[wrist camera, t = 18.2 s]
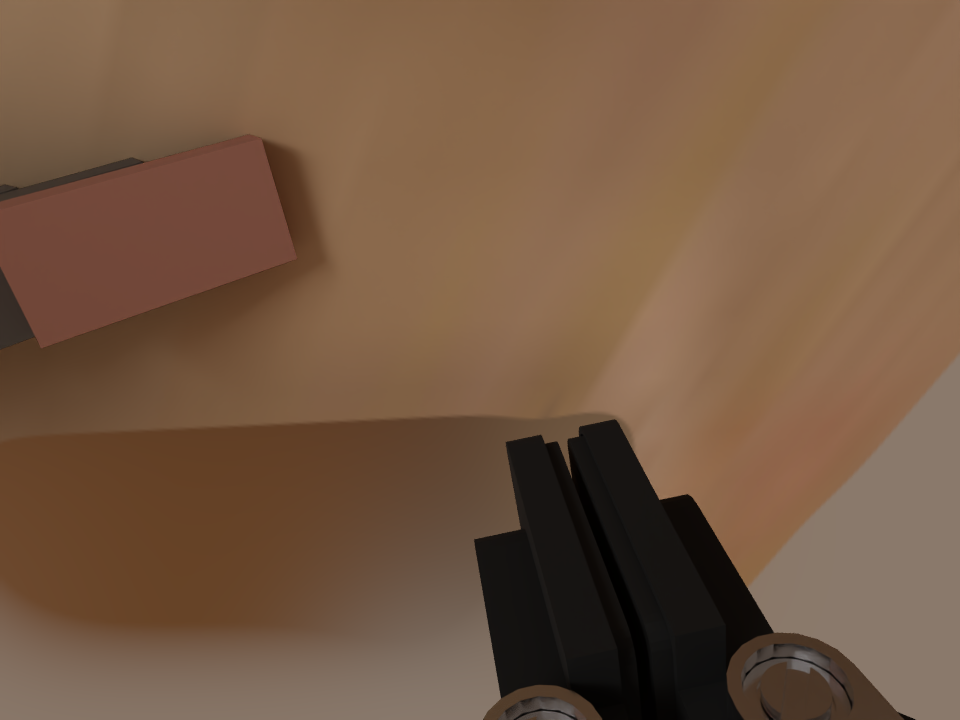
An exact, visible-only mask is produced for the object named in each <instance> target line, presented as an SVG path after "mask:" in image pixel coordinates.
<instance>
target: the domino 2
mask: <svg viewBox="0 0 960 720" xmlns="http://www.w3.org/2000/svg"><path fill="white" fill-rule="evenodd" d="M295 259H297V256H296V253H295V250H294V246H293V243H292V239H291V236H290V233H289V229H288V226H287V223H286V219H285V216H284V213H283V209H282V206H281V203H280V199H279V196H278V193H277V189H276V186H275V183H274V179H273V176H272V173H271V169H270V166H269V163H268V159H267V156H266V153H265V149H264V146H263V142H262V139H261V138H258V137H255V136H252V135H245V136H242V137H238V138H234V139H231V140H227V141H223V142H219V143H216V144H212V145H208V146H205V147H201V148H197V149H193V150H190V151H186V152H182V153H179V154H175V155H171V156H167V157H164V158H160V159H156V160H153V161H149V162H145V163H142V164H138V165H134V166H130V167H127V168H123V169H119V170H116V171H112V172H108V173H104V174H101V175H97V176H93V177H90V178H86V179H82V180H78V181H75V182H71V183H67V184H64V185H60V186H56V187H52V188H49V189H45V190H41V191H38V192H34V193H30V194H27V195H23V196H19V197H15V198H12V199H8V200H4V201H1V202H0V267H1V269H2V271H3V273H4V275H5V277H6V279H7V281H8V283H9V285H10V287H11V289H12V291H13V293H14V295H15V297H16V299H17V301H18V303H19V305H20V307H21V309H22V311H23V313H24V315H25V317H26V319H27V321H28V323H29V325H30V327H31V329H32V331H33V333H34V335H35V337H36V339H37V341H38V343H39V345H40V347H41V348H44V347H46V346H49V345H52V344H55V343H58V342H61V341H64V340H67V339H69V338H72V337H75V336H78V335H81V334H84V333H87V332H89V331H92V330H95V329H98V328H101V327H104V326H107V325H109V324H112V323H115V322H118V321H121V320H124V319H127V318H129V317H132V316H135V315H138V314H141V313H144V312H147V311H149V310H152V309H155V308H158V307H161V306H164V305H167V304H170V303H172V302H175V301H178V300H181V299H184V298H187V297H190V296H192V295H195V294H198V293H201V292H204V291H207V290H210V289H212V288H215V287H218V286H221V285H224V284H227V283H230V282H232V281H235V280H238V279H241V278H244V277H247V276H250V275H252V274H255V273H258V272H261V271H264V270H267V269H270V268H272V267H275V266H278V265H281V264H284V263H287V262H290V261H293V260H295Z"/></svg>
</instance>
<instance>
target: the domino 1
mask: <svg viewBox="0 0 960 720" xmlns="http://www.w3.org/2000/svg"><path fill="white" fill-rule="evenodd" d="M142 163H143V162H142V161H139V160H137V159H134V158H129V159H125V160H122V161H118V162H114V163H111V164H107V165H104V166H100V167H96V168H93V169H89V170H86V171H82V172H78V173H75V174H71V175H68V176H64V177H60V178H57V179H53V180H50V181H46V182H42V183H39V184H35V185H32V186H28V187H25V188H21V189H17V190H14V191H10V192H7V193H3V194H0V202H1V201H4V200H8V199H12V198H15V197H19V196H23V195H27V194H30V193H34V192H38V191H41V190H45V189H49V188H52V187H56V186H60V185H64V184H67V183H71V182H75V181H78V180H82V179H86V178H90V177H93V176H97V175H101V174H104V173H108V172H112V171H116V170H119V169H123V168H127V167H130V166H134V165H138V164H142ZM33 337H35V335H34V333H33V331H32V329H31V327H30V325H29V323H28V321H27V319H26V317H25V315H24V313H23V311H22V309H21V307H20V305H19V303H18V301H17V299H16V297H15V295H14V293H13V291H12V289H11V287H10V285H9V283H8V281H7V279H6V277H5V275H4V273H3V271H2V269H1V267H0V349H2V348H5V347H8V346H11V345H13V344H16V343H19V342H22V341H24V340H27V339H30V338H33Z"/></svg>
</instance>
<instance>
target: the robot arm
mask: <svg viewBox="0 0 960 720" xmlns="http://www.w3.org/2000/svg"><path fill="white" fill-rule="evenodd" d="M506 447H507V454H508V460H509V465H510V471H511V476H512V482H513V488H514V493H515V499H516V504H517V510H518V515H519V520H520V526H521V530H517V531H512V532H507V533H503V534H498V535H493V536H489V537H484V538H479V539H475V540H474V542H475V549H476V555H477V561H478V566H479V572H480V578H481V584H482V590H483V596H484V601H485V607H486V613H487V619H488V625H489V631H490V636H491V642H492V648H493V654H494V660H495V666H496V671H497V677H498V683H499V689H500V695H501V699H500V700H499V701H498V702H497V703H496V704H495V705H494V706H493V707H492V708H491V709H490V710H489V711H488V712H487V714H486V715H485V717H484V719H483V720H915V719H913V718H910V717H908V716H906V715H903V714H901V713H899V712H897V711H896V710H895V709H894V708H893V707H892V706H891V705H890V704H889V702H888V701H887V700H886V699H885V698H884V697H883V696H882V695H881V694H880V692H879V691H878V690H877V689H876V688H875V687H874V686H873V685H872V683H871V682H870V681H869V680H868V679H867V678H866V677H865V676H864V675H863V673H862V672H861V671H860V670H859V669H858V668H857V667H856V666H855V665H854V664H853V663H852V662H851V661H850V660H849V659H848V658H847V657H845V656H844V655H843V654H842V653H841V652H839V651H838V650H837V649H835V648H833V647H831V646H829V645H828V644H825V643H824V642H822V641H820V640H818V639H815V638H811V637H807V636H804V635H800V634H794V633H774V632H773V630H772V629H771V627H770V625H769V624H768V622H767V620H766V619H765V617H764V615H763V614H762V612H761V610H760V609H759V607H758V605H757V604H756V602H755V600H754V599H753V597H752V595H751V594H750V592H749V590H748V588H747V587H746V585H745V583H744V582H743V580H742V578H741V577H740V575H739V573H738V572H737V570H736V568H735V567H734V565H733V563H732V562H731V560H730V558H729V557H728V555H727V553H726V552H725V550H724V548H723V547H722V545H721V543H720V542H719V540H718V538H717V537H716V535H715V533H714V532H713V530H712V528H711V527H710V525H709V523H708V522H707V520H706V518H705V517H704V515H703V513H702V512H701V510H700V508H699V507H698V505H697V503H696V502H695V501H694V499H693V498H692V497H691V496H690V495H688V494H686V495H681V496H677V497H672V498H667V499H662V500H659V498H658V497H657V495H656V493H655V491H654V489H653V487H652V485H651V483H650V481H649V480H648V478H647V476H646V474H645V472H644V470H643V468H642V466H641V465H640V463H639V461H638V459H637V457H636V455H635V453H634V451H633V450H632V448H631V446H630V444H629V442H628V440H627V438H626V436H625V435H624V433H623V431H622V429H621V427H620V425H619V423H618V422H617V421H616V420H615V419H614V420H609V421H604V422H600V423H595V424H590V425H585V426H580V427H579V437H575V438H570V439H568V451H569V459H570V467H571V474H572V478H571V475H570V473H569V470H568V467H567V465H566V462H565V459H564V457H563V454H562V452H561V450H560V446H559V444H558V442H551V443H547V444H545V443H544V440H543V438H542V436H541V435H537V436H533V437H528V438H523V439H518V440H514V441H509V442H506Z"/></svg>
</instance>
